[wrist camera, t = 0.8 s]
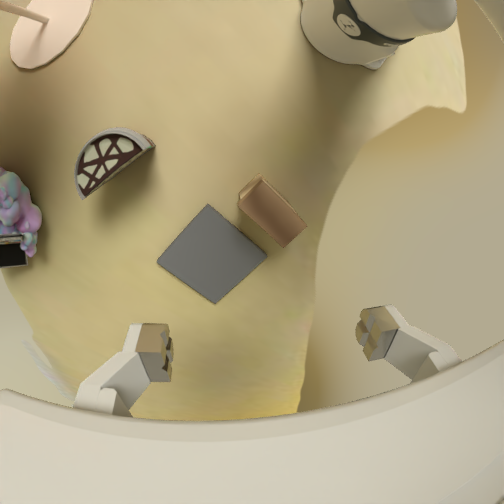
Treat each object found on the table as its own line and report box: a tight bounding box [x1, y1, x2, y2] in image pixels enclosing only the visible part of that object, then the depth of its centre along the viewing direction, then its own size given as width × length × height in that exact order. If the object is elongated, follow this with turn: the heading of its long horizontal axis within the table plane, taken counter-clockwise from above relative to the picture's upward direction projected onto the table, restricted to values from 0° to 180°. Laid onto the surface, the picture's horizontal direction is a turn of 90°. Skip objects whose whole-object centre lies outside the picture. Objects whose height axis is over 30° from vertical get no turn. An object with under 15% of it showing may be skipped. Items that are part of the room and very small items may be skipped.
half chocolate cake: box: [74, 127, 155, 200], centre depth 33 cm, size 12×6×10 cm, turn 119°
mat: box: [157, 204, 267, 303], centre depth 48 cm, size 14×14×1 cm
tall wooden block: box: [237, 173, 307, 248], centre depth 40 cm, size 5×9×9 cm, turn 45°
